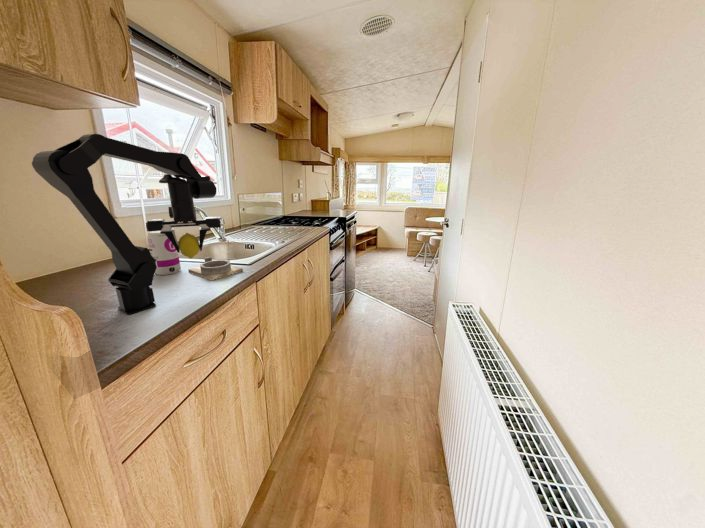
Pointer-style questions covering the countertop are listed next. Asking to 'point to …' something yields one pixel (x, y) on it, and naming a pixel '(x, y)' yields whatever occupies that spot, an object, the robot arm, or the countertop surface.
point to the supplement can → (163, 253)
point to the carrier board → (198, 272)
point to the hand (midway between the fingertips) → (190, 251)
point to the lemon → (189, 245)
